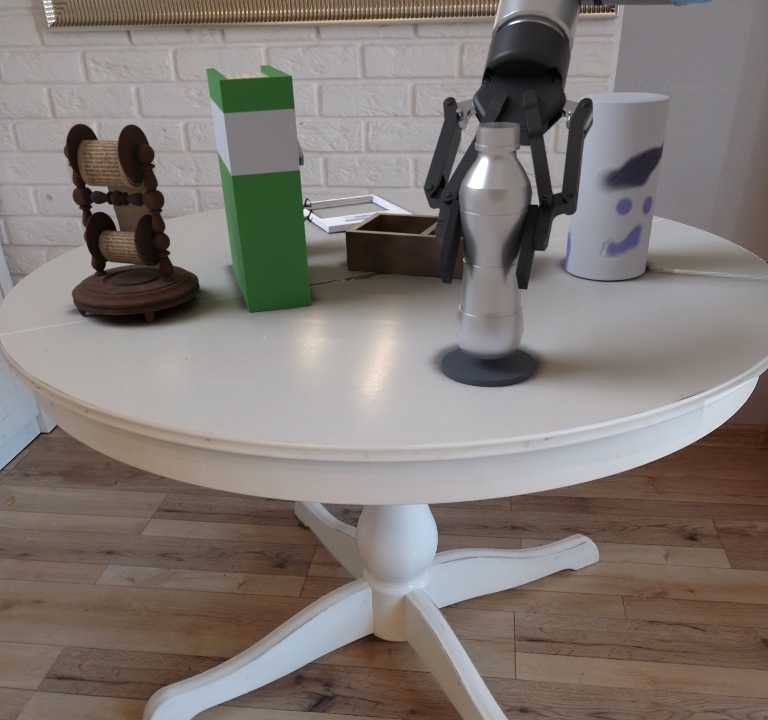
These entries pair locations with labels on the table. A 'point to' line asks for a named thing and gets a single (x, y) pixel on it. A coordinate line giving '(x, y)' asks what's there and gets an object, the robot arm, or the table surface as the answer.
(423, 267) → the wooden compartment box
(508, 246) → the silver bottle
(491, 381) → the coaster
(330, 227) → the photo frame
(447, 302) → the table surface
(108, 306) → the scroll
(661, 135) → the container
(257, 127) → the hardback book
